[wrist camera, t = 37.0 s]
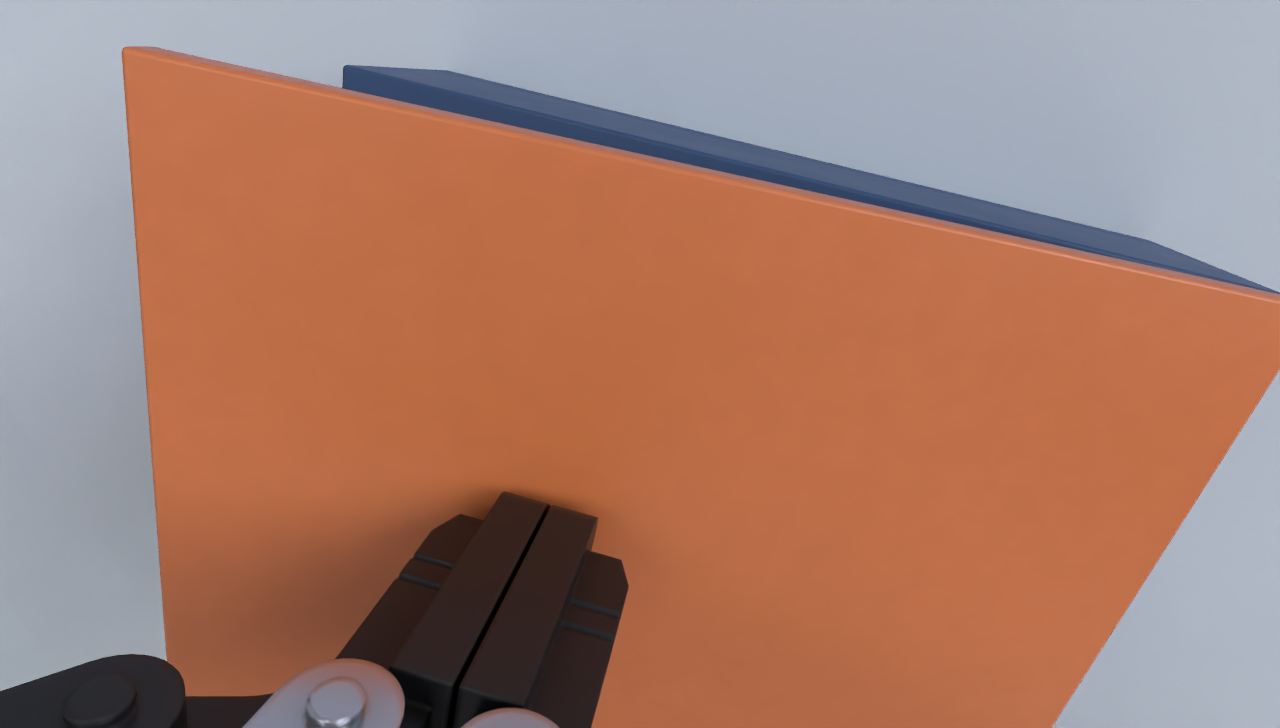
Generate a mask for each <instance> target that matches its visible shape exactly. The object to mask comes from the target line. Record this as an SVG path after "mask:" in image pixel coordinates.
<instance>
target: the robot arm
mask: <svg viewBox="0 0 1280 728" xmlns="http://www.w3.org/2000/svg"><path fill="white" fill-rule="evenodd" d="M597 524H598V517H595V516H591V515H588V514H584V513H581V512H577V511H574V510H570V509H567V508H563V507H560V506H556V505H552V506H551V508H550V504H548V503H545V502H541V501H538V500H534V499H531V498H527V497H524V496H520V495H516V494H513V493H509V492H506V491H504V492H502V493H501V494H500V496H499V497H498V499H497V500H496V502H495V503H494V505H493V507H492V508H491V510H490V511H489V513H488V514H487V516H486V517H485V519H484V520H481V519H477V518H474V517H470V516H467V515H463V514H459V515H457V516H455V517H453V518H452V519H450V520H448V521H447V522H445V523H443V524H441V525H440V526H438V527H436V528H435V529H433V530H432V531H431V532H430V533H429V535H428V536H427V537H426V539H425V540H424V541H423V543H422V544H421V545H420V547H419V548H418V549H417V551H416V552H415V553H414V557H413V559H412V558H411V559H410V560H409V561H408V563H407V564H406V565H405V567H404V568H403V569H402V571H401V572H400V574H399V577H398V579H397V578H396V579H395V580H394V581H393V583H392V584H391V585H390V587H389V588H388V589H387V591H386V592H385V593H384V595H383V596H382V597H381V599H380V600H379V601H378V603H377V604H376V605H375V607H374V608H373V609H372V611H371V612H370V613H369V615H368V616H367V617H366V619H365V620H364V621H363V623H362V624H361V625H360V627H359V628H358V629H357V631H356V632H355V633H354V635H353V636H352V637H351V639H350V640H349V641H348V643H347V644H346V645H345V647H344V648H343V649H342V651H341V652H340V653H339V654H338V656H337V657H336V658H335V659H334V660H328V661H324V662H320V663H317V664H315V665H312V666H310V667H307V668H305V669H304V670H302V671H300V672H298V673H296V674H295V675H294V676H292V677H291V678H289V679H288V680H287V681H286V682H285V683H284V684H282V685H281V686H280V687H279V688H278V689H277V690H276V692H275V693H271V694H265V695H258V696H186V693H185V685H184V680H183V678H182V676H181V674H180V672H179V671H178V670H177V669H176V668H175V667H174V666H173V665H171V664H170V663H168V662H166V661H165V660H162V659H159V658H157V657H153V656H147V655H136V654H128V655H116V656H111V657H105V658H101V659H98V660H94V661H90V662H87V663H84V664H81V665H78V666H75V667H72V668H69V669H66V670H63V671H60V672H57V673H54V674H51V675H48V676H45V677H42V678H39V679H36V680H33V681H30V682H27V683H24V684H21V685H18V686H15V687H12V688H9V689H6V690H3V691H0V728H591V727H592V723H593V719H594V716H595V712H596V708H597V705H598V701H599V697H600V693H601V690H602V686H603V682H604V679H605V675H606V671H607V668H608V664H609V660H610V656H611V653H612V649H613V645H614V641H615V637H616V634H617V630H618V626H619V622H620V619H621V615H622V611H623V607H624V603H625V600H626V596H627V592H628V588H629V585H628V581H627V578H626V574H625V570H624V567H623V563H622V560H621V559H617V558H614V557H610V556H607V555H603V554H600V553H596V552H593V551H591V550H592V546H593V542H594V537H595V533H596V529H597Z"/></svg>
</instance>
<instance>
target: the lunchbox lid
mask: <svg viewBox="0 0 1280 728" xmlns="http://www.w3.org/2000/svg"><path fill="white" fill-rule="evenodd" d="M122 62H123V75H124V89H125V102H126V116H127V129H128V143H129V156H130V170H131V183H132V197H133V210H134V224H135V237H136V251H137V264H138V278H139V291H140V305H141V318H142V332H143V345H144V359H145V372H146V386H147V399H148V413H149V426H150V440H151V453H152V467H153V480H154V494H155V507H156V521H157V534H158V548H159V561H160V575H161V588H162V602H163V615H164V629H165V642H166V656H167V662H168V663H170V664H171V665H173V666H174V667H175V668H176V669H177V670H178V671H179V672H180V674H181V676H182V678H183V680H184V685H185V693H186V696H258V695H265V694H271V693H275V692H276V690H277V689H278V688H279V687H280V686H281V685H282V684H284V683H285V682H286V681H287V680H288V679H289V678H291V677H292V676H294V675H295V674H296V673H298V672H300V671H302V670H304V669H305V668H307V667H310V666H312V665H315V664H317V663H320V662H324V661H328V660H334V659H335V658H336V657H337V656H338V654H339V653H340V652H341V651H342V649H343V648H344V647H345V645H346V644H347V643H348V641H349V640H350V639H351V637H352V636H353V635H354V633H355V632H356V631H357V629H358V628H359V627H360V625H361V624H362V623H363V621H364V620H365V619H366V617H367V616H368V615H369V613H370V612H371V611H372V609H373V608H374V607H375V605H376V604H377V603H378V601H379V600H380V599H381V597H382V596H383V595H384V593H385V592H386V591H387V589H388V588H389V587H390V585H391V584H392V583H393V581H394V580H395V579H396V578H397V579H398V577H399V574H400V572H401V571H402V569H403V568H404V567H405V565H406V564H407V563H408V561H409V560H410V559H411V558H412V559H413V557H414V553H415V552H416V551H417V549H418V548H419V547H420V545H421V544H422V543H423V541H424V540H425V539H426V537H427V536H428V535H429V533H430V532H431V531H432V530H433V529H435V528H436V527H438V526H440V525H441V524H443V523H445V522H447V521H448V520H450V519H452V518H453V517H455V516H457V515H459V514H463V515H467V516H470V517H474V518H477V519H481V520H484V519H485V517H486V516H487V514H488V513H489V511H490V510H491V508H492V507H493V505H494V503H495V502H496V500H497V499H498V497H499V496H500V494H501V493H502V492H504V491H506V492H509V493H513V494H516V495H520V496H524V497H527V498H531V499H534V500H538V501H541V502H545V503H548V504H550V508H551V506H552V505H556V506H560V507H563V508H567V509H570V510H574V511H577V512H581V513H584V514H588V515H591V516H595V517H598V524H597V529H596V533H595V537H594V542H593V546H592V550H591V551H593V552H596V553H600V554H603V555H607V556H610V557H614V558H617V559H621V560H622V563H623V567H624V570H625V574H626V578H627V581H628V585H629V588H628V592H627V596H626V600H625V603H624V607H623V611H622V615H621V619H620V622H619V626H618V630H617V634H616V637H615V641H614V645H613V649H612V653H611V656H610V660H609V664H608V668H607V671H606V675H605V679H604V682H603V686H602V690H601V693H600V697H599V701H598V705H597V708H596V712H595V716H594V719H593V723H592V727H591V728H1052V726H1053V724H1054V723H1055V721H1056V720H1057V718H1058V717H1059V715H1060V714H1061V712H1062V710H1063V709H1064V707H1065V706H1066V704H1067V703H1068V701H1069V699H1070V698H1071V696H1072V695H1073V693H1074V692H1075V690H1076V688H1077V687H1078V685H1079V684H1080V682H1081V681H1082V679H1083V677H1084V676H1085V674H1086V673H1087V671H1088V670H1089V668H1090V666H1091V665H1092V663H1093V662H1094V660H1095V659H1096V657H1097V655H1098V654H1099V652H1100V651H1101V649H1102V648H1103V646H1104V644H1105V643H1106V641H1107V640H1108V638H1109V637H1110V635H1111V633H1112V632H1113V630H1114V629H1115V627H1116V626H1117V624H1118V622H1119V621H1120V619H1121V618H1122V616H1123V615H1124V613H1125V612H1126V610H1127V608H1128V607H1129V605H1130V604H1131V602H1132V601H1133V599H1134V597H1135V596H1136V594H1137V593H1138V591H1139V590H1140V588H1141V586H1142V585H1143V583H1144V582H1145V580H1146V579H1147V577H1148V575H1149V574H1150V572H1151V571H1152V569H1153V568H1154V566H1155V564H1156V563H1157V561H1158V560H1159V558H1160V557H1161V555H1162V553H1163V552H1164V550H1165V549H1166V547H1167V546H1168V544H1169V542H1170V541H1171V539H1172V538H1173V536H1174V535H1175V533H1176V531H1177V530H1178V528H1179V527H1180V525H1181V524H1182V522H1183V520H1184V519H1185V517H1186V516H1187V514H1188V513H1189V511H1190V510H1191V508H1192V506H1193V505H1194V503H1195V502H1196V500H1197V499H1198V497H1199V495H1200V494H1201V492H1202V491H1203V489H1204V488H1205V486H1206V484H1207V483H1208V481H1209V480H1210V478H1211V477H1212V475H1213V473H1214V472H1215V470H1216V469H1217V467H1218V466H1219V464H1220V462H1221V461H1222V459H1223V458H1224V456H1225V455H1226V453H1227V451H1228V450H1229V448H1230V447H1231V445H1232V444H1233V442H1234V440H1235V439H1236V437H1237V436H1238V434H1239V433H1240V431H1241V429H1242V428H1243V426H1244V425H1245V423H1246V422H1247V420H1248V418H1249V417H1250V415H1251V414H1252V412H1253V411H1254V409H1255V408H1256V406H1257V404H1258V403H1259V401H1260V400H1261V398H1262V397H1263V395H1264V393H1265V392H1266V390H1267V389H1268V387H1269V386H1270V384H1271V382H1272V381H1273V379H1274V378H1275V376H1276V375H1277V373H1278V371H1279V370H1280V294H1276V293H1272V292H1267V291H1263V290H1258V289H1254V288H1249V287H1245V286H1240V285H1235V284H1231V283H1226V282H1222V281H1217V280H1213V279H1208V278H1204V277H1199V276H1194V275H1190V274H1185V273H1181V272H1176V271H1172V270H1167V269H1163V268H1158V267H1153V266H1149V265H1144V264H1140V263H1135V262H1131V261H1126V260H1122V259H1117V258H1112V257H1108V256H1103V255H1099V254H1094V253H1090V252H1085V251H1081V250H1076V249H1071V248H1067V247H1062V246H1058V245H1053V244H1049V243H1044V242H1040V241H1035V240H1030V239H1026V238H1021V237H1017V236H1012V235H1008V234H1003V233H999V232H994V231H989V230H985V229H980V228H976V227H971V226H967V225H962V224H958V223H953V222H949V221H944V220H939V219H935V218H930V217H926V216H921V215H917V214H912V213H908V212H903V211H898V210H894V209H889V208H885V207H880V206H876V205H871V204H867V203H862V202H857V201H853V200H848V199H844V198H839V197H835V196H830V195H826V194H821V193H816V192H812V191H807V190H803V189H798V188H794V187H789V186H785V185H780V184H775V183H771V182H766V181H762V180H757V179H753V178H748V177H744V176H739V175H734V174H730V173H725V172H721V171H716V170H712V169H707V168H703V167H698V166H693V165H689V164H684V163H680V162H675V161H671V160H666V159H662V158H657V157H652V156H648V155H643V154H639V153H634V152H630V151H625V150H621V149H616V148H611V147H607V146H602V145H598V144H593V143H589V142H584V141H580V140H575V139H570V138H566V137H561V136H557V135H552V134H548V133H543V132H539V131H534V130H529V129H525V128H520V127H516V126H511V125H507V124H502V123H498V122H493V121H488V120H484V119H479V118H475V117H470V116H466V115H461V114H457V113H452V112H447V111H443V110H438V109H434V108H429V107H425V106H420V105H416V104H411V103H406V102H402V101H397V100H393V99H388V98H384V97H379V96H375V95H370V94H365V93H361V92H356V91H352V90H347V89H343V88H338V87H334V86H329V85H324V84H320V83H315V82H311V81H306V80H302V79H297V78H293V77H288V76H283V75H279V74H274V73H270V72H265V71H261V70H256V69H252V68H247V67H243V66H238V65H233V64H229V63H224V62H220V61H215V60H211V59H206V58H202V57H197V56H192V55H188V54H183V53H179V52H174V51H170V50H165V49H161V48H156V47H124V48H123V50H122Z"/></svg>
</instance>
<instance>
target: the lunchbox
mask: <svg viewBox="0 0 1280 728" xmlns="http://www.w3.org/2000/svg"><path fill="white" fill-rule="evenodd" d="M342 88H343V89H347V90H352V91H356V92H361V93H365V94H370V95H375V96H379V97H384V98H388V99H393V100H397V101H402V102H406V103H411V104H416V105H420V106H425V107H429V108H434V109H438V110H443V111H447V112H452V113H457V114H461V115H466V116H470V117H475V118H479V119H484V120H488V121H493V122H498V123H502V124H507V125H511V126H516V127H520V128H525V129H529V130H534V131H539V132H543V133H548V134H552V135H557V136H561V137H566V138H570V139H575V140H580V141H584V142H589V143H593V144H598V145H602V146H607V147H611V148H616V149H621V150H625V151H630V152H634V153H639V154H643V155H648V156H652V157H657V158H662V159H666V160H671V161H675V162H680V163H684V164H689V165H693V166H698V167H703V168H707V169H712V170H716V171H721V172H725V173H730V174H734V175H739V176H744V177H748V178H753V179H757V180H762V181H766V182H771V183H775V184H780V185H785V186H789V187H794V188H798V189H803V190H807V191H812V192H816V193H821V194H826V195H830V196H835V197H839V198H844V199H848V200H853V201H857V202H862V203H867V204H871V205H876V206H880V207H885V208H889V209H894V210H898V211H903V212H908V213H912V214H917V215H921V216H926V217H930V218H935V219H939V220H944V221H949V222H953V223H958V224H962V225H967V226H971V227H976V228H980V229H985V230H989V231H994V232H999V233H1003V234H1008V235H1012V236H1017V237H1021V238H1026V239H1030V240H1035V241H1040V242H1044V243H1049V244H1053V245H1058V246H1062V247H1067V248H1071V249H1076V250H1081V251H1085V252H1090V253H1094V254H1099V255H1103V256H1108V257H1112V258H1117V259H1122V260H1126V261H1131V262H1135V263H1140V264H1144V265H1149V266H1153V267H1158V268H1163V269H1167V270H1172V271H1176V272H1181V273H1185V274H1190V275H1194V276H1199V277H1204V278H1208V279H1213V280H1217V281H1222V282H1226V283H1231V284H1235V285H1240V286H1245V287H1249V288H1254V289H1258V290H1263V291H1267V292H1272V293H1276V294H1280V293H1279V292H1277V291H1274V290H1272V289H1269V288H1267V287H1264V286H1262V285H1259V284H1257V283H1254V282H1252V281H1249V280H1247V279H1244V278H1242V277H1239V276H1237V275H1234V274H1232V273H1229V272H1227V271H1224V270H1222V269H1219V268H1217V267H1214V266H1212V265H1209V264H1207V263H1204V262H1202V261H1199V260H1197V259H1194V258H1192V257H1189V256H1187V255H1184V254H1182V253H1179V252H1177V251H1174V250H1172V249H1169V248H1166V247H1164V246H1161V245H1159V244H1156V243H1154V242H1151V241H1149V240H1145V239H1141V238H1136V237H1132V236H1128V235H1124V234H1120V233H1116V232H1112V231H1108V230H1103V229H1099V228H1095V227H1091V226H1087V225H1083V224H1079V223H1074V222H1070V221H1066V220H1062V219H1058V218H1054V217H1050V216H1046V215H1041V214H1037V213H1033V212H1029V211H1025V210H1021V209H1017V208H1012V207H1008V206H1004V205H1000V204H996V203H992V202H988V201H984V200H979V199H975V198H971V197H967V196H963V195H959V194H955V193H950V192H946V191H942V190H938V189H934V188H930V187H926V186H922V185H917V184H913V183H909V182H905V181H901V180H897V179H893V178H888V177H884V176H880V175H876V174H872V173H868V172H864V171H860V170H855V169H851V168H847V167H843V166H839V165H835V164H831V163H826V162H822V161H818V160H814V159H810V158H806V157H802V156H798V155H793V154H789V153H785V152H781V151H777V150H773V149H769V148H764V147H760V146H756V145H752V144H748V143H744V142H740V141H736V140H731V139H727V138H723V137H719V136H715V135H711V134H707V133H702V132H698V131H694V130H690V129H686V128H682V127H678V126H674V125H669V124H665V123H661V122H657V121H653V120H649V119H645V118H640V117H636V116H632V115H628V114H624V113H620V112H616V111H612V110H607V109H603V108H599V107H595V106H591V105H587V104H583V103H578V102H574V101H570V100H566V99H562V98H558V97H554V96H550V95H545V94H541V93H537V92H533V91H529V90H525V89H521V88H516V87H512V86H508V85H504V84H500V83H496V82H492V81H488V80H483V79H479V78H475V77H471V76H467V75H463V74H459V73H454V72H450V71H444V70H426V69H408V68H391V67H373V66H355V65H346V66H344V68H343V87H342Z"/></svg>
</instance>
